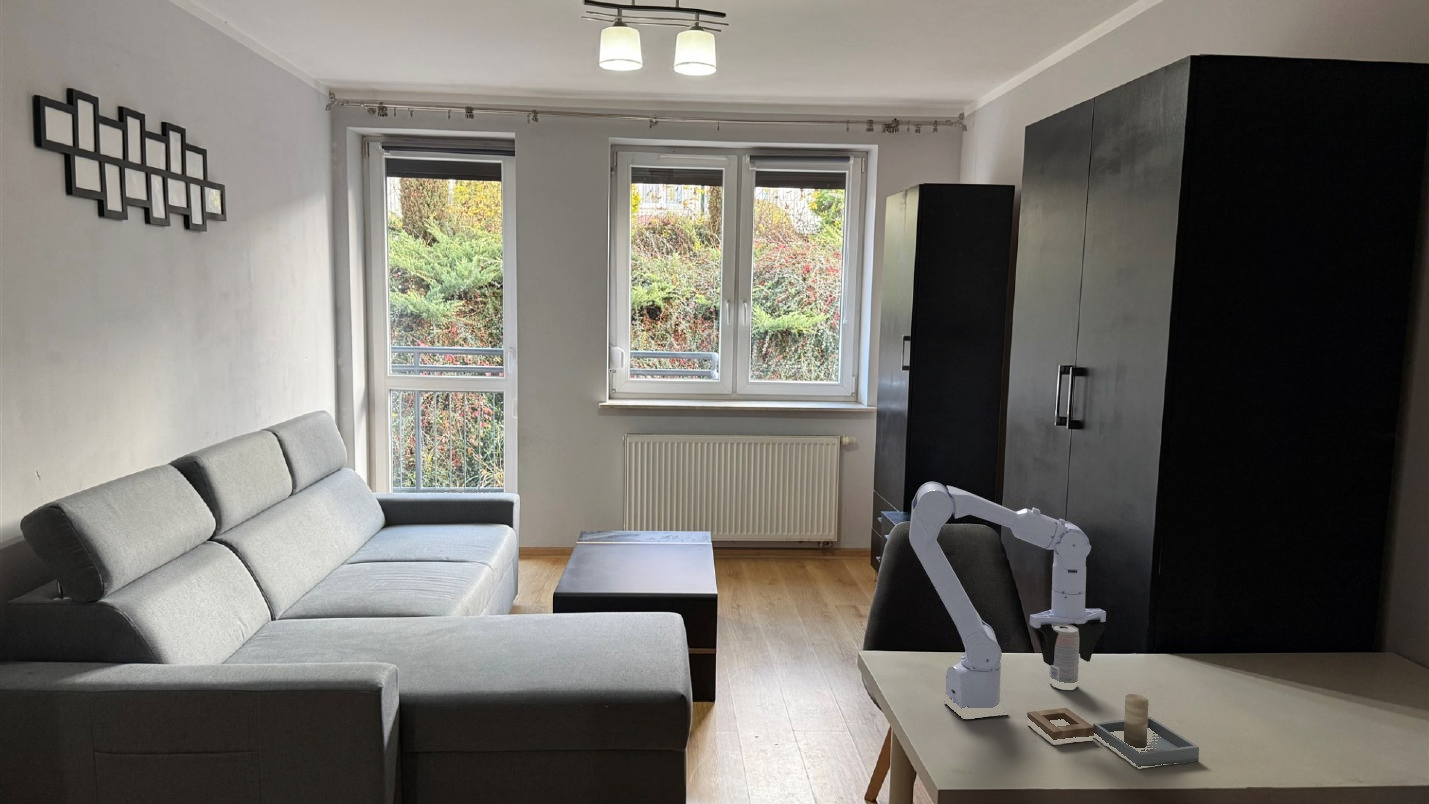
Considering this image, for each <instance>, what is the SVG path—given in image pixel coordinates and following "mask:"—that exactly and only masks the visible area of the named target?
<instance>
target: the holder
mask: <svg viewBox="0 0 1429 804" xmlns="http://www.w3.org/2000/svg"><path fill="white" fill-rule="evenodd" d="M1026 714H1027V717H1028V718H1029V719H1030V720H1031V721H1032V722H1034V723H1035V724H1036V725H1037V726H1038V727H1040V728H1041V729H1042V730H1043V731H1044V732H1045V733H1046V734H1048V735H1049V736H1050V737H1051V738H1052V739H1053V740H1057V739H1065V738H1073V737H1075V738H1076V737H1089V736H1094V727H1093V724H1091V723H1090V722H1087V721H1086V720H1085V719H1083V718H1082V717H1080V716H1079V715H1078V714H1076V713H1075V712H1073V711H1072V710H1071V709H1069V707H1068V708H1067V707H1061V708H1054V709H1045V710H1044V709H1043V710H1033V711H1027V713H1026ZM1027 717H1026V718H1027ZM1058 719H1060V720H1061V719H1064V720H1065V721H1066V722H1068V723H1069V724H1070V725H1066V726H1057V727H1056V726H1055V725H1054V724H1052V723H1051V722H1050V720H1058Z"/></svg>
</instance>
